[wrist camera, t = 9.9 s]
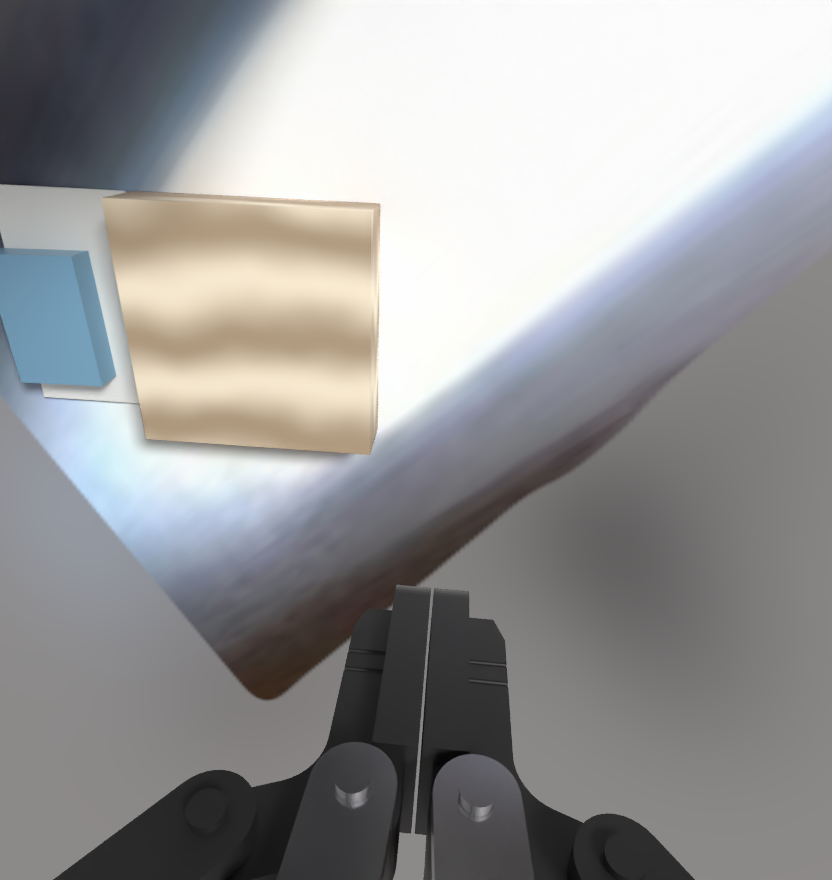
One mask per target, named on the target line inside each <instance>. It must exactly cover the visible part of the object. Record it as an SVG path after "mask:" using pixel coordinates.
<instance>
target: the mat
mask: <svg viewBox="0 0 832 880" xmlns="http://www.w3.org/2000/svg"><path fill="white" fill-rule="evenodd" d="M122 193H126V191H124V190H105V189H85V188H66V187H47V186H27V185H8V184H0V233H1V236H2V240H3V244H4V248H22V249H52V250H81V251H88V252H89V256H90V261H91V265H92V270H93V274H94V278H95V283H96V287H97V292H98V296H99V301H100V305H101V309H102V314H103V318H104V323H105V327H106V332H107V336H108V341H109V345H110V349H111V354H112V358H113V363H114V367H115V372H116V377H114V378H113V379H111V380H110V381H109V382H107V383H106V384H105V385H103V386H86V385H65V384H44V383H41V386H42V390H43V394H44V397H53V398H68V399H83V400H97V401H112V402H127V403H139V398H138V393H137V387H136V382H135V377H134V371H133V366H132V361H131V356H130V350H129V345H128V340H127V334H126V329H125V324H124V318H123V313H122V308H121V303H120V297H119V292H118V287H117V281H116V276H115V271H114V265H113V260H112V255H111V250H110V244H109V239H108V234H107V228H106V223H105V218H104V212H103V207H102V202H101V198H102V197H107V196H112V195H117V194H122Z"/></svg>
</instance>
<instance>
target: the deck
mask: <svg viewBox="0 0 832 880" xmlns="http://www.w3.org/2000/svg"><path fill="white" fill-rule="evenodd" d="M101 202H102V207H103V212H104V218H105V223H106V228H107V234H108V239H109V244H110V250H111V255H112V260H113V265H114V271H115V276H116V281H117V287H118V292H119V297H120V303H121V308H122V313H123V318H124V324H125V329H126V334H127V340H128V345H129V350H130V356H131V361H132V366H133V371H134V377H135V382H136V387H137V393H138V398H139V403H140V409H141V414H142V419H143V424H144V430H145V435H146V439H154V440H169V441H183V442H197V443H211V444H225V445H239V446H253V447H267V448H281V449H295V450H310V451H324V452H338V453H352V454H366V455H370V453H371V450H372V446H373V443H374V440H375V436H376V433H377V429H378V342H379V254H380V204H377V203H358V202H338V201H319V200H300V199H280V198H261V197H241V196H222V195H202V194H183V193H163V192H144V191H131V192H126V193H122V194H117V195H112V196H107V197H102V198H101Z"/></svg>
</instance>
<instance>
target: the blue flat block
mask: <svg viewBox="0 0 832 880" xmlns="http://www.w3.org/2000/svg"><path fill="white" fill-rule="evenodd" d="M0 315H1V318H2V321H3V324H4V328H5V331H6V334H7V337H8V341H9V344H10V347H11V351H12V354H13V357H14V360H15V364H16V367H17V370H18V374H19V377H20V380H21V382H22V383H44V384H65V385H86V386H103V385H105V384H106V383H107V382H109V381H110V380H111V379H113V378H114V377H116V372H115V367H114V363H113V358H112V354H111V349H110V345H109V341H108V336H107V332H106V327H105V323H104V318H103V314H102V309H101V305H100V301H99V296H98V292H97V287H96V283H95V278H94V274H93V270H92V265H91V261H90V256H89V252H88V251H81V250H52V249H22V248H0Z"/></svg>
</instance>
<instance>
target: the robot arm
mask: <svg viewBox="0 0 832 880" xmlns="http://www.w3.org/2000/svg"><path fill="white" fill-rule="evenodd" d="M430 594H431V588H425V587H414V586H404V585H396V590H395V596H394V603H393V609H392V611H391V610H381V609H370V608H368V609H367V611H366V612H365V613H364V614H363V616H362V617H361V618H360V619H359V621H358V622H357V623H356V624H355V626H354V628H353V633H352V637H351V641H350V646H349V652H348V655H347V659H346V664H345V670H344V672H343V677H342V681H341V686H340V690H339V695H338V699H337V703H336V708H335V712H334V717H333V721H332V726H331V730H330V735H329V738H328V742H327V745H326V747H325V749H324V751H323V752H322V754H321V755H320V757H319V758H318V759H317V760H316V762H314V764H313V765H311V766H310V767H309V768H308V769H307V770H305V771H303V772H302V773H300V774H299V775H296V776H294V777H292V778H289V779H286V780H282V781H279V782H274V783H269V784H265V785H261V786H256V787H251V786H250V785H249V783H248V782H247V781H246V780H245V779H244V778H243V777H242V776H240V775H238V774H236V773H234V772H231V771H225V770H212V771H207V772H204V773H200V774H198V775H196V776H194V777H192V778H190V779H188V780H187V781H185V782H184V783H183V784H181V785H180V786H178V787H177V788H176V789H174V790H173V791H171V792H170V793H169V794H168V795H166V796H165V797H164V798H162V799H161V800H159V801H158V802H157V803H155V804H154V805H153V806H151V807H150V808H149V809H148V810H146V811H145V812H143V813H142V814H141V815H139V816H138V817H137V818H135V819H134V820H133V821H131V822H130V823H129V824H127V825H126V826H125V827H123V828H122V829H121V830H119V831H118V832H117V833H115V834H114V835H112V836H111V837H110V838H108V839H107V840H106V841H104V842H103V843H102V844H100V845H99V846H98V847H97V848H95V849H94V850H92V851H91V852H90V853H88V854H87V855H86V856H84V857H83V858H82V859H80V860H79V861H78V862H76V863H75V864H74V865H72V866H71V867H70V868H68V869H67V870H66V871H64V872H63V873H62V874H60V875H59V876H58V877H56V878H55V879H54V880H393V877H394V874H395V870H396V863H397V853H398V843H399V832H402V833H411V827H412V815H413V802H414V791H415V779H416V767H417V755H418V743H419V731H420V718H421V706H422V705H421V704H422V693H423V681H424V669H425V656H426V655H425V654H426V643H427V631H428V619H429V607H430ZM507 684H508V680H507V668H506V650H505V640H504V638H503V636H502V635H501V633H500V632H499V629H498V628H497V626H496V624H495V622H494V621H493V620H487V619H477V618H469V592H468V591H459V590H448V589H438V588H434V595H433V607H432V618H431V631H430V642H429V653H428V667H427V679H426V692H425V706H424V719H423V732H422V745H421V759H420V772H419V785H418V799H417V812H416V825H415V834H423V835H426V852H425V869H424V878H423V880H695V879H694V878H693V877H692V876H691V875H690V874H689V873H688V872H687V871H686V870H685V869H684V868H683V867H682V866H681V864H680V863H679V862H678V861H677V860H676V859H675V858H674V857H673V856H672V855H671V854H670V853H669V852H668V851H667V850H666V849H665V848H664V846H663V845H662V844H661V843H660V842H659V841H658V840H657V839H656V838H655V837H654V836H653V835H652V834H651V833H650V832H649V831H648V830H647V829H646V828H644V827H643V826H641V825H640V824H639V823H637V822H635V821H633V820H632V819H629V818H627V817H624V816H620V815H616V814H600V815H596V816H593V817H591V818H590V819H588V820H586V821H585V822H584V823H582V822H580V821H578V820H575V819H573V818H571V817H569V816H566V815H565V814H562V813H560V812H558V811H556V810H553V809H551V808H550V807H548V806H546V805H544V804H543V803H541V802H540V801H538V800H537V799H536V798H535V797H534V796H533V795H532V794H531V793H530V792H529V791H528V790H527V789H526V787H525V786H524V785H523V783H522V782H521V780H520V778H519V776H518V774H517V772H516V769H515V766H514V762H513V753H512V738H511V723H510V708H509V695H508V686H507Z"/></svg>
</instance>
